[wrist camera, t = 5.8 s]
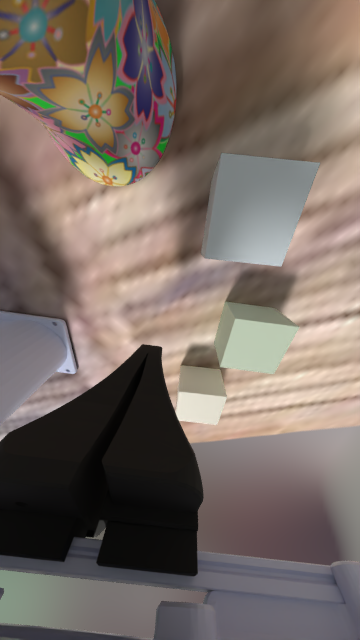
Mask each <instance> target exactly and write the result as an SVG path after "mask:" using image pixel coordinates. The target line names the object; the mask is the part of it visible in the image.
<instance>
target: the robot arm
mask: <svg viewBox="0 0 360 640" xmlns="http://www.w3.org/2000/svg"><path fill="white" fill-rule="evenodd" d="M55 322H56V323H57V324H56V323H55ZM161 357H162V347H159V346H152V345H144V344H143V345H141V346H140V347H139V348H138V349H137V350H136V351H135V353H134V354H133V355H132V356H131V357H129V358H128V359H127V360H126V361H125V362H124V363H123V364H122V365H121V366H120V367H118V368H117V369H116V370H115V371H114V372H113V373H111V374H110V375H109V376H108V377H106V378H105V379H104V380H102V381H101V382H99V383H98V384H97V385H95V386H94V387H92V388H91V389H89V390H88V391H86V392H85V393H83V394H82V395H80V396H79V397H77V398H75V399H74V400H72V401H70V402H68V403H67V404H65V405H63V406H61V407H59V408H58V409H56V410H54V411H52V412H50V413H48V414H46V415H45V416H43V417H41V418H39V419H36V420H34V421H32V422H30V423H28V424H26V425H24V426H22V427H20V428H18V429H16V430H14V431H11V432H9V433H8V434H7V435H6V436H5V437H4V438H3V439H2V440H1V441H0V570H8V571H17V572H26V573H35V574H44V575H53V576H63V577H72V578H81V579H90V580H100V581H108V582H117V583H126V584H136V585H145V586H154V587H163V588H173V589H181V590H190V591H191V590H192V591H200V592H209V593H207V595H206V596H205V598H204V602H203V604H199V603H186V602H185V603H184V602H167V601H161V603H160V605H159V606H158V608H157V612H156V623H155V624H156V625H155V634H154V639H150V638H142V637H134V636H126V635H118V634H109V633H100V632H92V631H82V630H72V629H62V628H52V627H41V626H30V625H19V624H8V623H0V640H360V562H356V561H339V562H335V563H332V564H331V566H327V565H318V564H309V563H300V562H292V561H283V560H273V559H265V558H256V557H247V556H239V555H230V554H221V553H211V552H202V551H197V531H198V509H199V507H200V505H201V503H202V502H203V487H202V481H201V476H200V472H199V468H198V464H197V461H196V457H195V453H194V451H193V449H192V447H191V445H190V443H189V441H188V439H187V437H186V435H185V433H184V431H183V429H182V427H181V425H180V423H179V420H178V418H177V415H176V413H175V410H174V408H173V405H172V403H171V400H170V397H169V394H168V390H167V387H166V383H165V379H164V374H163V368H162V360H161ZM55 372H63V373H71V374H75V373H76V372H77V367H76V363H75V359H74V355H73V350H72V346H71V342H70V338H69V334H68V330H67V326H66V323H65V321H64V320H62V319H57V318H49V317H42V316H34V315H27V314H20V313H12V312H5V311H0V425H1V424H2V423H3V422H4V421H5V420H6V419H7V418H8V417H9V416H11V415H12V414H13V413H14V412H15V411H16V410H17V409H18V408H19V407H20V406H21V405H22V404H23V403H24V402H25V401H26V400H27V399H28V398H29V397H30V396H31V395H32V394H33V393H34V392H35V391H36V390H37V389H38V388H39V387H40V386H41V385H42V384H43V383H44V382H46V381H47V380H48V379H49V378H50V377H51V376H52V375H53V374H54V373H55ZM105 528H106V530H105V534H104V537H103V540H97V539H87V538H85V537H94V536H95V537H97V536H98V535H99V534H100V533H101V532H102V531H103V530H104V529H105ZM3 593H4V589H3V588H0V599H1V597H2V595H3Z"/></svg>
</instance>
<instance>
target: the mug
mask: <svg viewBox="0 0 360 640" xmlns="http://www.w3.org/2000/svg"><path fill="white" fill-rule="evenodd" d="M176 90H177V89H176V72H175V63H174V57H173V52H172V47H171V43H170V39H169V36H168V32H167V29H166V26H165V23H164V21H163V18H162V15H161V13H160V11H159V8H158V6H157V4H156V2H155V0H0V95H2V96H4V97H5V98H7V99H9V100H10V101H12V102H14V103H15V104H17V105H18V106H20V107H21V108H23V109H24V110H25V111H27V112H28V113H29V114H31V115H32V116H33V117H34V118H36V119H37V120H38V121H39V122H40V123H41V124H42V125H43V126H44V127H45V128H46V129H47V131H48V133H49V135H50V137H51V138H52V140H53V142H54V143H55V145H56V146H57V148H58V149H59V150H60V152H61V153H62V154H63V155H64V157H65V158H66V159H67V160H68V161H69V162H70V163H71V164H72V165H73V166H74V167H75V168H76V169H77V170H78V171H79V172H81V173H82V174H83V175H85V176H86V177H88V178H90V179H91V180H93V181H96V182H98V183H101V184H104V185H109V186H125V185H130V184H132V183H135V182H137V181H139V180H141V179H142V178H143V177H145V176H146V175H147V174H148V173H149V172H150V171H151V170H152V169H153V168H154V167H155V166H156V164H157V163H158V161H159V160H160V158H161V157H162V155H163V153H164V151H165V149H166V146H167V144H168V141H169V138H170V135H171V131H172V127H173V122H174V116H175V109H176Z"/></svg>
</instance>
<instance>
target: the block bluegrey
mask: <svg viewBox="0 0 360 640" xmlns="http://www.w3.org/2000/svg"><path fill="white" fill-rule="evenodd" d="M319 165H320V163H317V162H307V161H297V160H287V159H277V158H268V157H258V156H248V155H238V154H228V153H221V155H220V158H219V161H218V164H217V166H216V169H215V172H214V175H213V178H212V181H211V188H210V195H209V202H208V209H207V216H206V223H205V230H204V237H203V244H202V251H201V255H202V256H203V257H204V258H206V259H216V260H225V261H235V262H244V263H253V264H263V265H272V266H282V263H283V261H284V258H285V255H286V253H287V250H288V247H289V245H290V242H291V239H292V237H293V234H294V231H295V229H296V226H297V223H298V221H299V218H300V215H301V213H302V210H303V208H304V205H305V202H306V200H307V197H308V194H309V192H310V189H311V186H312V184H313V181H314V178H315V176H316V173H317V170H318V168H319Z"/></svg>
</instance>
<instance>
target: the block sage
mask: <svg viewBox="0 0 360 640" xmlns="http://www.w3.org/2000/svg"><path fill="white" fill-rule="evenodd" d="M298 329H299V326H297V325H296V324H295V323H293V322H292V321H291V320H289V319H288V318H287V317H286V316H284V315H283V314H282V313H280V312H279V311H278V310H277V309H275V308H270V307H263V306H255V305H248V304H240V303H233V302H225V304H224V307H223V311H222V315H221V318H220V322H219V326H218V330H217V333H216V337H215V341H214V345H215V349H216V353H217V357H218V361H219V365H220V367H224V368H231V369H239V370H247V371H254V372H262V373H270V374H274V373H275V371H276V369H277V367H278V365H279V364H280V362H281V360H282V358H283V356H284V354H285V353H286V351H287V349H288V347H289V345H290V343H291V342H292V340H293V338H294V336H295V334H296V332H297V331H298Z"/></svg>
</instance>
